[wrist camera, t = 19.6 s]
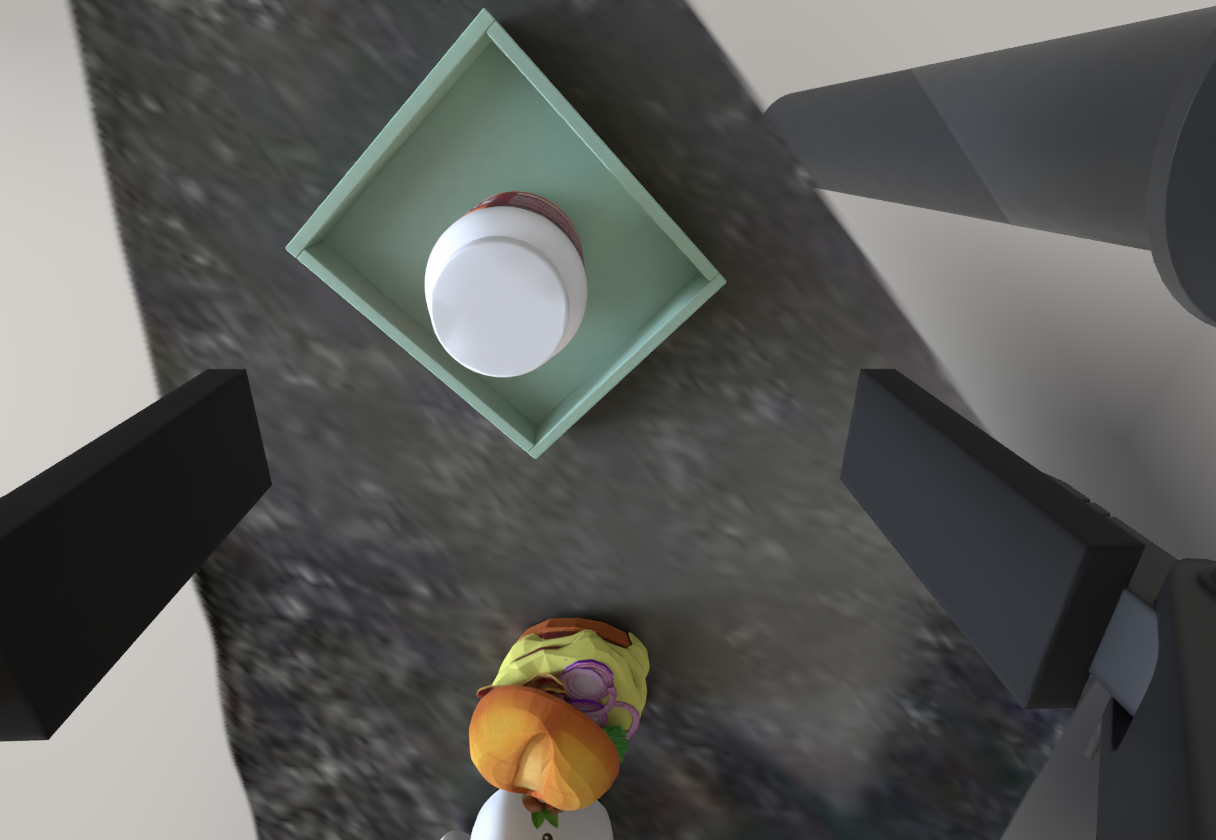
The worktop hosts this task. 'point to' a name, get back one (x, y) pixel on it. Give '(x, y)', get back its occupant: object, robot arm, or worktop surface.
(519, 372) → the pill bottle
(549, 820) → the spread jar
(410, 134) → the tray
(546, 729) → the cheeseburger
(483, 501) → the worktop surface
